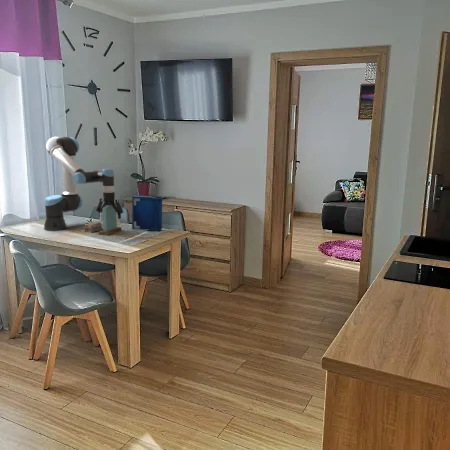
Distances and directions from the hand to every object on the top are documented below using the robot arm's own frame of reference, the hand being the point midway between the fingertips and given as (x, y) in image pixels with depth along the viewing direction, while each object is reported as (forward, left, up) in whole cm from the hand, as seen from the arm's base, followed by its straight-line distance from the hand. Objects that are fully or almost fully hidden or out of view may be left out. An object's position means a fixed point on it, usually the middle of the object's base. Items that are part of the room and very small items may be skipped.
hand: (110, 222), depth 305 cm
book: (+17, +22, -8) cm, 29 cm away
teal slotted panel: (0, 0, -7) cm, 7 cm away
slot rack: (0, 0, -8) cm, 8 cm away
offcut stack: (-14, 0, -8) cm, 16 cm away
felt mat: (+13, 0, -8) cm, 15 cm away
